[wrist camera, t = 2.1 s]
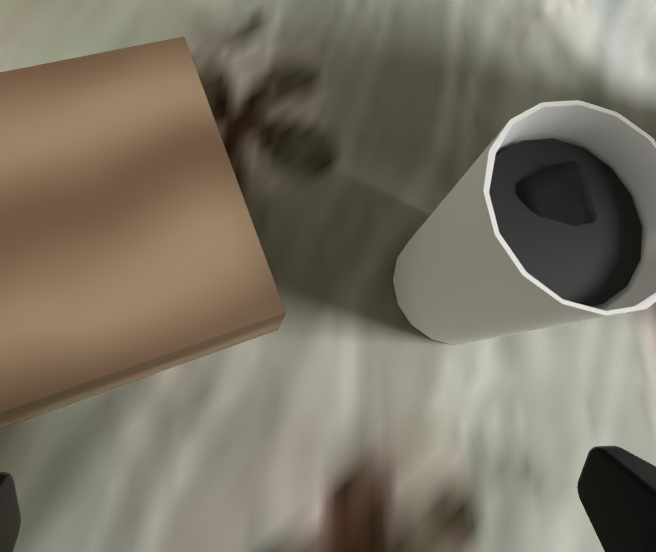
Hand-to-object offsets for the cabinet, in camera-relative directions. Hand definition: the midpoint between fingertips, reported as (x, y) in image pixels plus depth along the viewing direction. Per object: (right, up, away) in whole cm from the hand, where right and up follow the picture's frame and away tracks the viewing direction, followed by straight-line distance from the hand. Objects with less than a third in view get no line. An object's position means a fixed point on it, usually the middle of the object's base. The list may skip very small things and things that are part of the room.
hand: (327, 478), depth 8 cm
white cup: (+6, +3, +16) cm, 18 cm away
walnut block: (-10, +4, +14) cm, 18 cm away
